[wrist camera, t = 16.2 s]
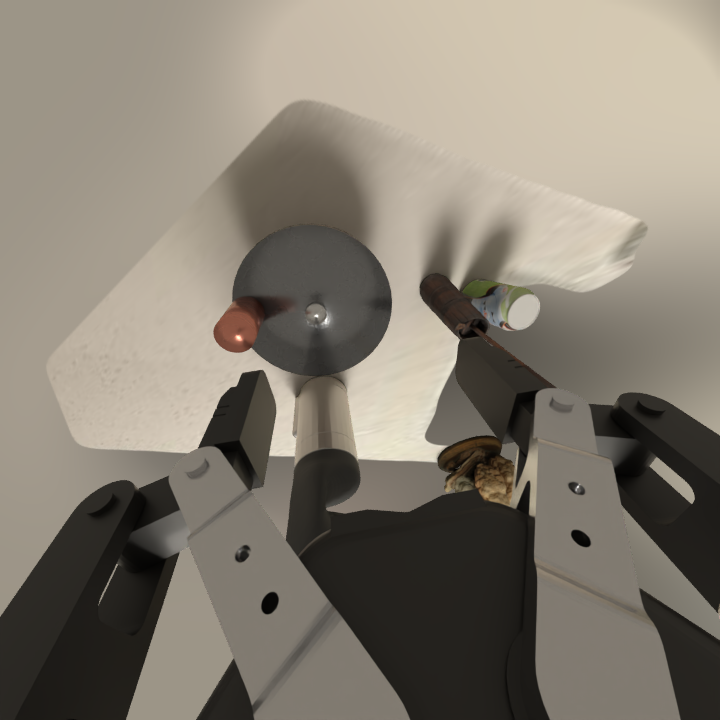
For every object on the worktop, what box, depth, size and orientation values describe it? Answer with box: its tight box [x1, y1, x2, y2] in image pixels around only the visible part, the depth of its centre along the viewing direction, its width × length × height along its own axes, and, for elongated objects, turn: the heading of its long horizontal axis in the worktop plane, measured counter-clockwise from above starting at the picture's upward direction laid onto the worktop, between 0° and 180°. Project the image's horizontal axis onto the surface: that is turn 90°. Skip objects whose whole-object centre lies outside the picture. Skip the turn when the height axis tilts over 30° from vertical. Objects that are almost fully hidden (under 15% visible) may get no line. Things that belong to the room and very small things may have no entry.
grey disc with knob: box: [214, 224, 392, 376], centre depth 29 cm, size 18×18×8 cm
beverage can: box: [462, 279, 540, 331], centre depth 42 cm, size 6×7×12 cm
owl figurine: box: [438, 435, 515, 506], centre depth 63 cm, size 18×12×17 cm, turn 107°
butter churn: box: [420, 274, 556, 388], centre depth 33 cm, size 9×10×28 cm
